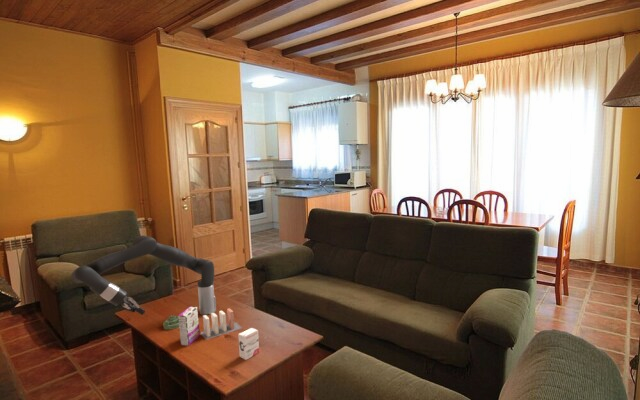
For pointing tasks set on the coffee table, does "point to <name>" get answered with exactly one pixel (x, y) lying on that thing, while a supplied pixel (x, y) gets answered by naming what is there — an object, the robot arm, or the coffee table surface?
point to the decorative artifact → (171, 323)
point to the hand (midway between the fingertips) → (144, 312)
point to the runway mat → (221, 331)
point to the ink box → (248, 343)
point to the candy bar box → (189, 326)
